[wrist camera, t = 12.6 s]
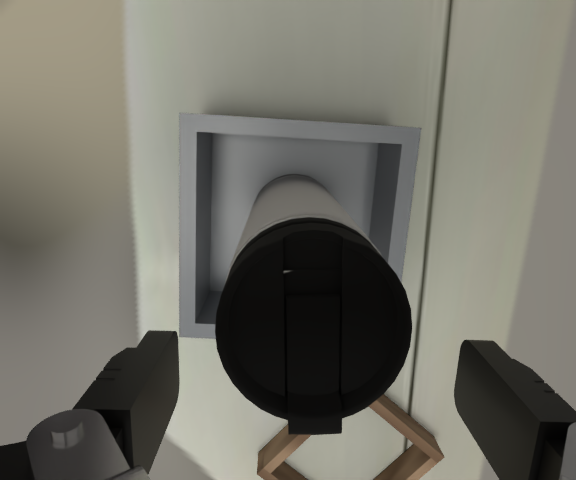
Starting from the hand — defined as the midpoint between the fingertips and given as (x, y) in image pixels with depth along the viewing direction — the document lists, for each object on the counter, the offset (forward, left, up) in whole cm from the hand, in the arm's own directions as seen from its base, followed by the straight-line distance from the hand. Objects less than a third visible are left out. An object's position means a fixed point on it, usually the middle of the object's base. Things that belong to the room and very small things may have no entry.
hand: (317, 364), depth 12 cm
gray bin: (0, 0, -22) cm, 22 cm away
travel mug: (0, 0, -21) cm, 21 cm away
